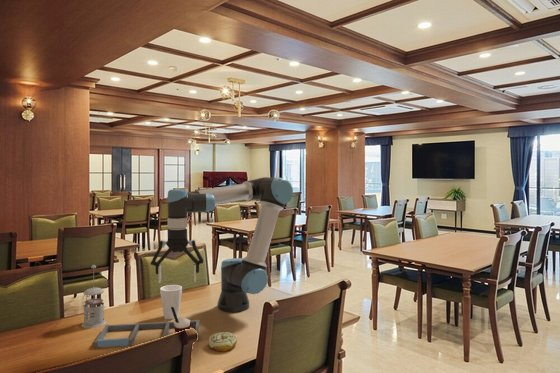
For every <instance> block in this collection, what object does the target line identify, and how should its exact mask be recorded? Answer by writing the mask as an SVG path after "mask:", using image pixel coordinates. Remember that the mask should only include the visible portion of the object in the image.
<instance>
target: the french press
mask: <svg viewBox="0 0 560 373" xmlns="http://www.w3.org/2000/svg"><path fill="white" fill-rule="evenodd" d="M90 268H91V269H93V271H92V272H93V274H92V276H93V287H91V288H88V289H85V290H84V291H83V297H82V299H84V297H85V296H86V298H85V301H84V303H82V306H83V322H82V324H81V327H82V328H83V329H94V328H95V329H96V328H101V327H102V326H104V325H105V326H106V325H107V320H105V304H104V303H105V302H103V301H104V299H102V298H98V297H97V298H95V297H94V298H90V297H91V296H98V295H101V294H103V293H104V292H105V289H103V288H101V287H95V269H96V268H97V266H96V265H95V264H92V265H91V267H90ZM88 298H89V299H88Z"/></svg>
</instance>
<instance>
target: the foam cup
mask: <svg viewBox="0 0 560 373" xmlns="http://www.w3.org/2000/svg"><path fill="white" fill-rule="evenodd" d="M159 290H160V291H159V292H160V300H161V304H162V305H161V306H162V307H161V308H162V313H163V318H164V319H165V320H175V318H174V315H173V312H172V309H171V307H174V310H175V313H176V316H177V318H178V317H179V316H180V307H181V301H182V294H183V286H182V285H180V284H179V285H178V284H168V285H167V284H166V285H164V286H161V287H160V289H159Z"/></svg>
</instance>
